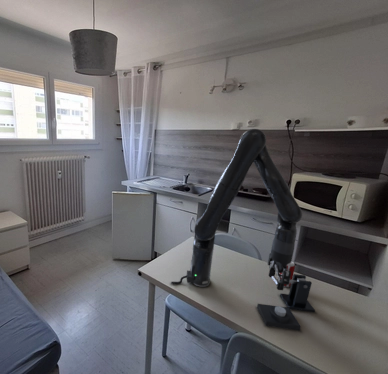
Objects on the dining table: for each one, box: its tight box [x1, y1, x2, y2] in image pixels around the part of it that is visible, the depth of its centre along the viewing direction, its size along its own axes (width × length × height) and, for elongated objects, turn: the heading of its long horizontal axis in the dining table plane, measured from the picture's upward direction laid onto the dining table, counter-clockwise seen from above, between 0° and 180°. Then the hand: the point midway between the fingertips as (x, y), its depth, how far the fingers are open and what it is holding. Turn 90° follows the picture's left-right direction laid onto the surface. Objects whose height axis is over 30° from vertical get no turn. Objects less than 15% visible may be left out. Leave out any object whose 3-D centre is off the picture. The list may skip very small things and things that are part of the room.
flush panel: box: [256, 303, 302, 331], centre depth 87 cm, size 12×9×4 cm
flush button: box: [275, 305, 286, 317], centre depth 86 cm, size 4×4×2 cm
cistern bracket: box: [279, 273, 316, 313], centre depth 94 cm, size 10×8×13 cm
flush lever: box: [271, 275, 307, 286], centre depth 94 cm, size 12×5×2 cm, turn 81°
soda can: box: [279, 260, 296, 288], centre depth 106 cm, size 5×5×12 cm
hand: (275, 283), depth 95 cm, fingers open, 7 cm apart
